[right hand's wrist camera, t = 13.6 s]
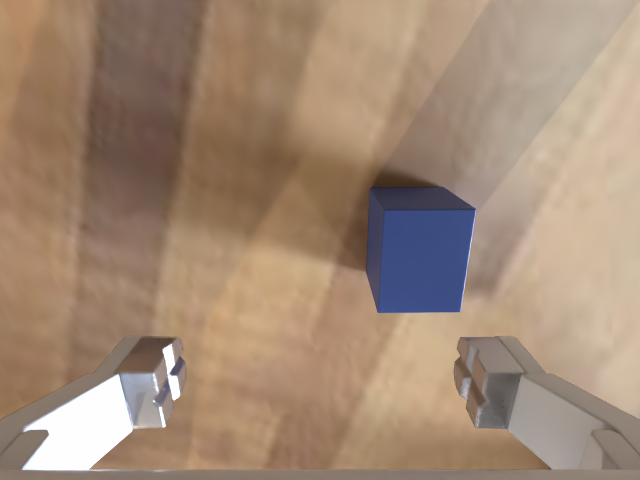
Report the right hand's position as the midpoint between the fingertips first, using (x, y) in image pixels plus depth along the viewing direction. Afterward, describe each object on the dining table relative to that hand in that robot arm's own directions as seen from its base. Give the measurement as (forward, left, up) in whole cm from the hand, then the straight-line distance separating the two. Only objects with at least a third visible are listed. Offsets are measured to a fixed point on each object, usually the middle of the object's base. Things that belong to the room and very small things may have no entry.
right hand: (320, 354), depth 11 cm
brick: (-3, -3, -11) cm, 12 cm away
